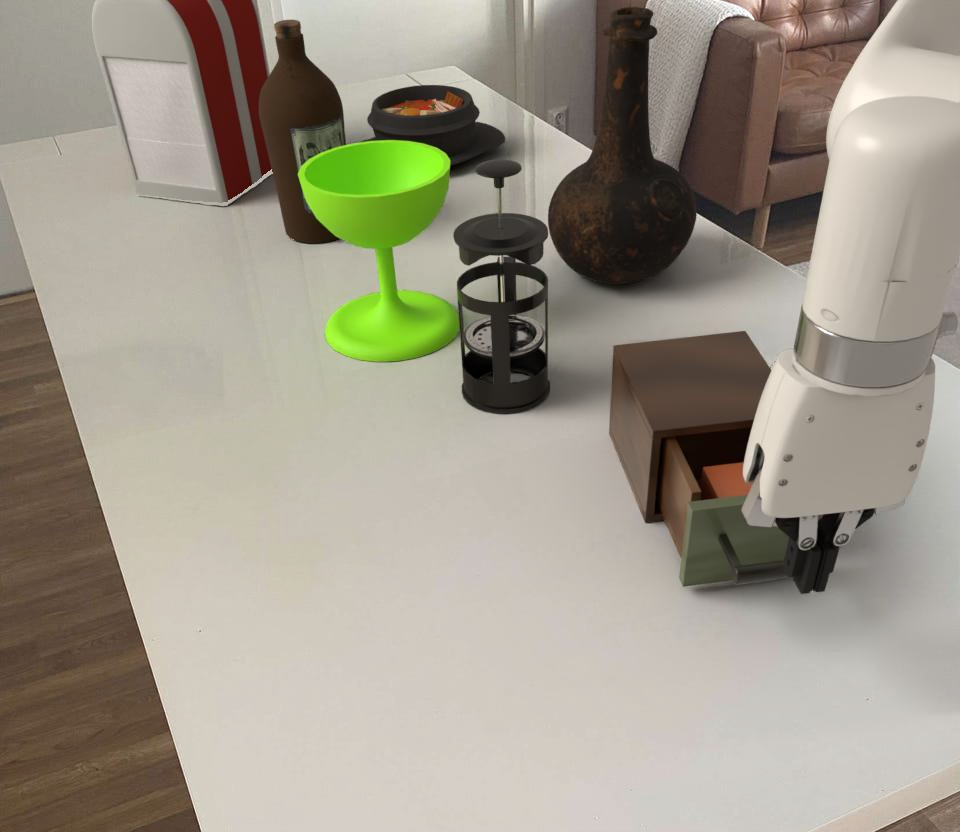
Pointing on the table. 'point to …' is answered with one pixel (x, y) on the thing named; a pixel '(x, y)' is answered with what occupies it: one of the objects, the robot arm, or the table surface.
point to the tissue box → (185, 93)
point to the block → (723, 481)
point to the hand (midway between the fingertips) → (805, 579)
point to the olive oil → (298, 127)
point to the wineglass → (382, 241)
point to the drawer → (714, 514)
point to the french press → (503, 305)
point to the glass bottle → (623, 177)
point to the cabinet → (679, 399)
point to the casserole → (433, 121)
